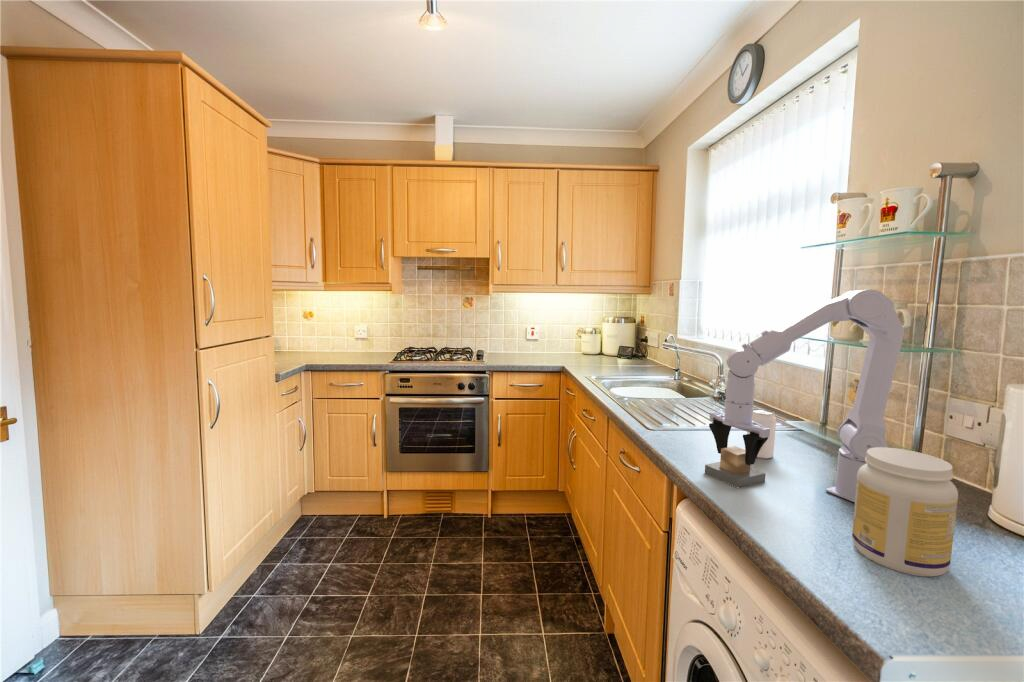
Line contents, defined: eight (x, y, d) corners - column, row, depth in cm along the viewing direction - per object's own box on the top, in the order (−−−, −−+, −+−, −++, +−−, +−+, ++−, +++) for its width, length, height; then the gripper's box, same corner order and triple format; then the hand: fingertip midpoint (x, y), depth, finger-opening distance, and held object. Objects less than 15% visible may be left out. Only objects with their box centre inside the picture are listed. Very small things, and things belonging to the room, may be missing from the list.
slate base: (764, 481, 101) (765, 473, 100) (737, 488, 97) (737, 479, 97) (731, 467, 109) (732, 459, 109) (704, 472, 105) (705, 464, 105)
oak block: (750, 471, 102) (751, 452, 101) (736, 474, 100) (737, 455, 99) (733, 464, 106) (734, 446, 105) (720, 466, 104) (721, 448, 103)
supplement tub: (946, 555, 73) (958, 457, 71) (952, 592, 63) (966, 480, 62) (853, 528, 81) (862, 440, 79) (847, 557, 72) (856, 458, 70)
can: (766, 451, 121) (769, 408, 119) (778, 459, 114) (781, 415, 113) (741, 449, 121) (744, 407, 120) (752, 458, 115) (755, 414, 114)
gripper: (701, 396, 106) (698, 450, 108) (755, 411, 93) (751, 472, 94) (722, 393, 109) (719, 446, 110) (778, 407, 96) (773, 467, 97)
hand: (735, 458), depth 102 cm, fingers open, 7 cm apart
